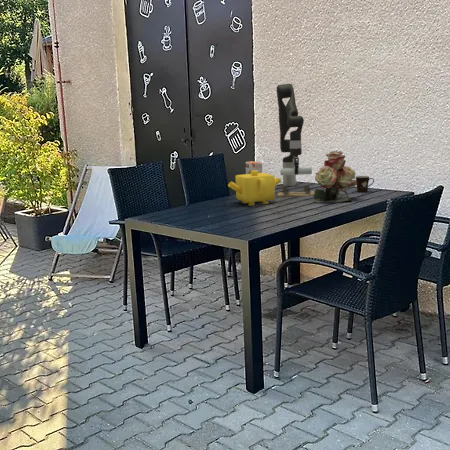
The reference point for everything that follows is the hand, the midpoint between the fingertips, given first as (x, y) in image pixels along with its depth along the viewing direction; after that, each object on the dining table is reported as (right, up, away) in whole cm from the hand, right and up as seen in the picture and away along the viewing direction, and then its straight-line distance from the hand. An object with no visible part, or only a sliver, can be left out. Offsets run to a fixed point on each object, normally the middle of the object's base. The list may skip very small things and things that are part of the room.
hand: (296, 173), depth 381 cm
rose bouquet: (+22, -18, -18) cm, 34 cm away
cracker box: (-26, -11, +20) cm, 35 cm away
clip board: (+1, -14, +3) cm, 14 cm away
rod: (0, +2, 0) cm, 2 cm away
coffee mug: (+46, -12, +5) cm, 47 cm away
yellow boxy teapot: (-28, -20, -18) cm, 38 cm away
